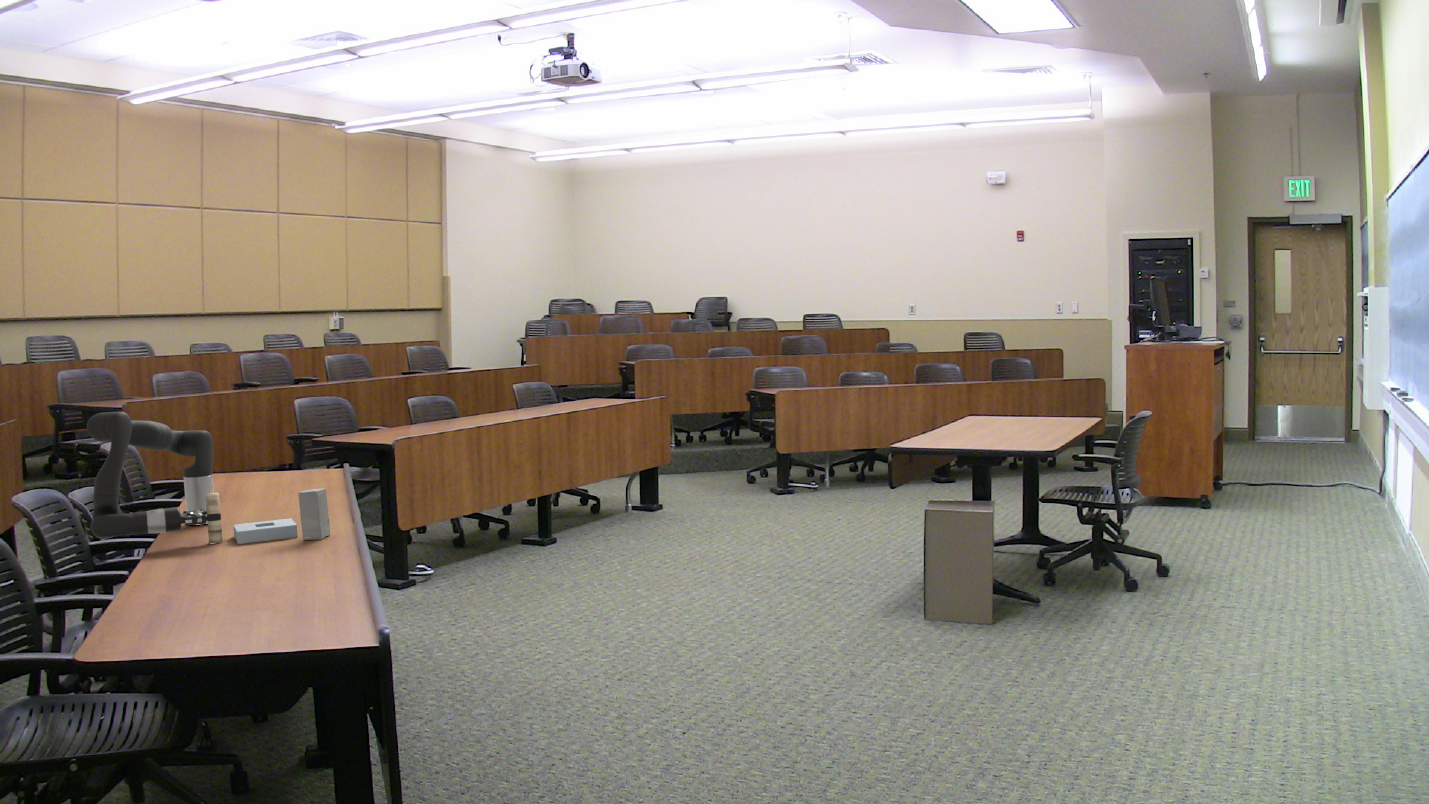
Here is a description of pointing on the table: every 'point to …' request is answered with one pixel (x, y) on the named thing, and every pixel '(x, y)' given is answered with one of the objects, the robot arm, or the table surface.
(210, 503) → the dowel
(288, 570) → the table surface
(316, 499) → the skincare box
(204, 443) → the robot arm
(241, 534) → the seat board
